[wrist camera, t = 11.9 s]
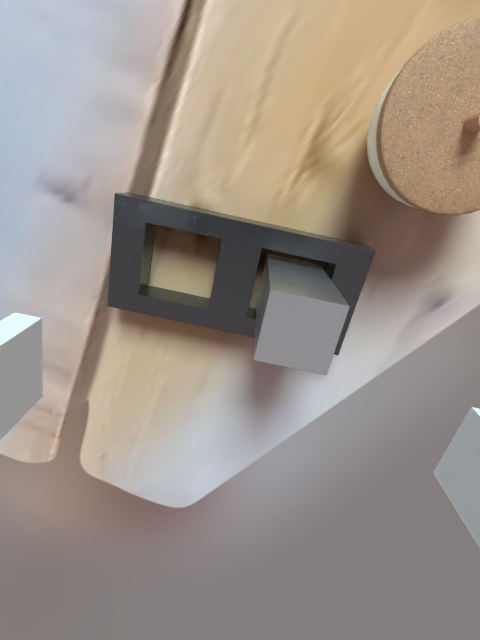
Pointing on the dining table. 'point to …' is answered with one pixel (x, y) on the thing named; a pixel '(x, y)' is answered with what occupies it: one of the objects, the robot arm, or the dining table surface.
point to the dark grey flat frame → (218, 263)
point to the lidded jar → (432, 126)
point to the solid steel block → (297, 315)
